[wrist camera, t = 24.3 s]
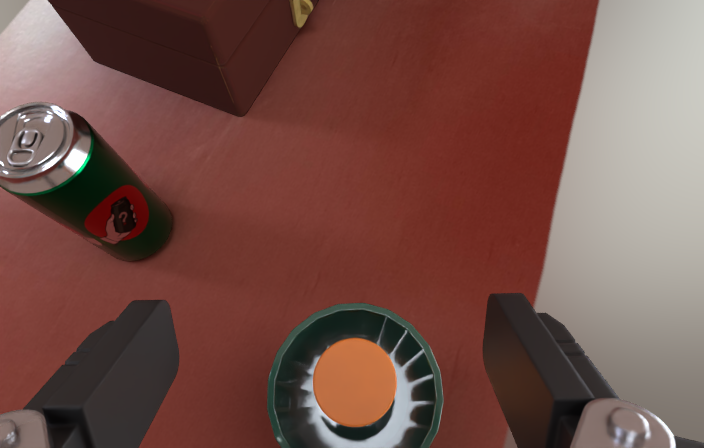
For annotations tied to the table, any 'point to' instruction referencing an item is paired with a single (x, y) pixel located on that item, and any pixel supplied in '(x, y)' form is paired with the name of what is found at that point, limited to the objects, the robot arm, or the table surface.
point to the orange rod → (354, 382)
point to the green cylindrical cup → (411, 393)
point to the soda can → (79, 181)
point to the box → (190, 42)
